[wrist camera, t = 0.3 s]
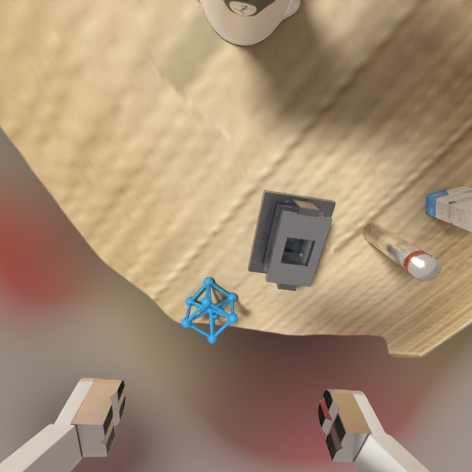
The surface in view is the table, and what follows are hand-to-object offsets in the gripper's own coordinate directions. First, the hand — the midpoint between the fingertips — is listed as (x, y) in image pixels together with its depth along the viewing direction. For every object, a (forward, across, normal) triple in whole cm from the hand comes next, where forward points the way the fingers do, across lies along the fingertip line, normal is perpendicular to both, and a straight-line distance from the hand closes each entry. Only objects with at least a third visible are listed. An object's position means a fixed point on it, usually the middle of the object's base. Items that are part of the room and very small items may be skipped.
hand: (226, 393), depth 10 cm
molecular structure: (+48, 0, +31) cm, 57 cm away
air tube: (+47, -37, +8) cm, 60 cm away
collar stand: (+47, -16, +12) cm, 51 cm away
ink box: (+48, -51, -1) cm, 70 cm away
